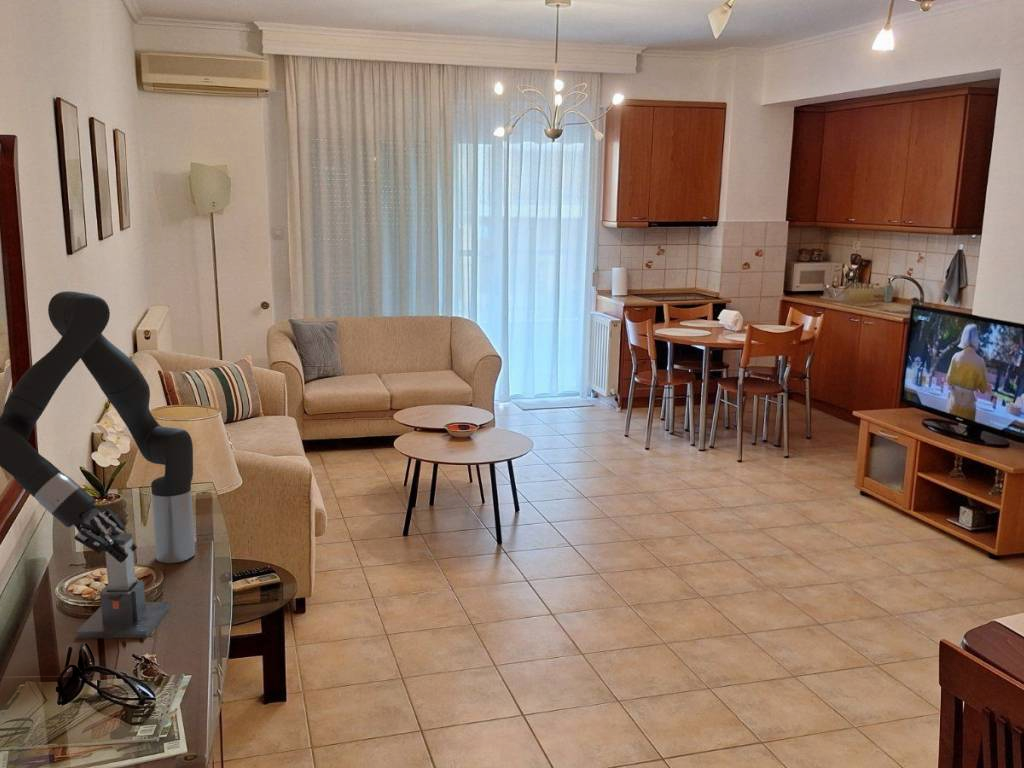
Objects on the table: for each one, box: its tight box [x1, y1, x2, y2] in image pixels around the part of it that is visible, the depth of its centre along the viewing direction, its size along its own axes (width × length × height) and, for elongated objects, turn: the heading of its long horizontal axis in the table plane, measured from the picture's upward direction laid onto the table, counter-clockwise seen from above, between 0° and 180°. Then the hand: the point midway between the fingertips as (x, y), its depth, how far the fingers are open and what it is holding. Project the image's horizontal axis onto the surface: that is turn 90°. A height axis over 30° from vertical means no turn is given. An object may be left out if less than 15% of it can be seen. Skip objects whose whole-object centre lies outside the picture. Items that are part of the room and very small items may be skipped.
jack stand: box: [75, 579, 171, 640], centre depth 190 cm, size 14×14×8 cm
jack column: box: [104, 532, 136, 592], centre depth 189 cm, size 4×4×16 cm
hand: (129, 554), depth 188 cm, fingers closed on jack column, 4 cm apart
